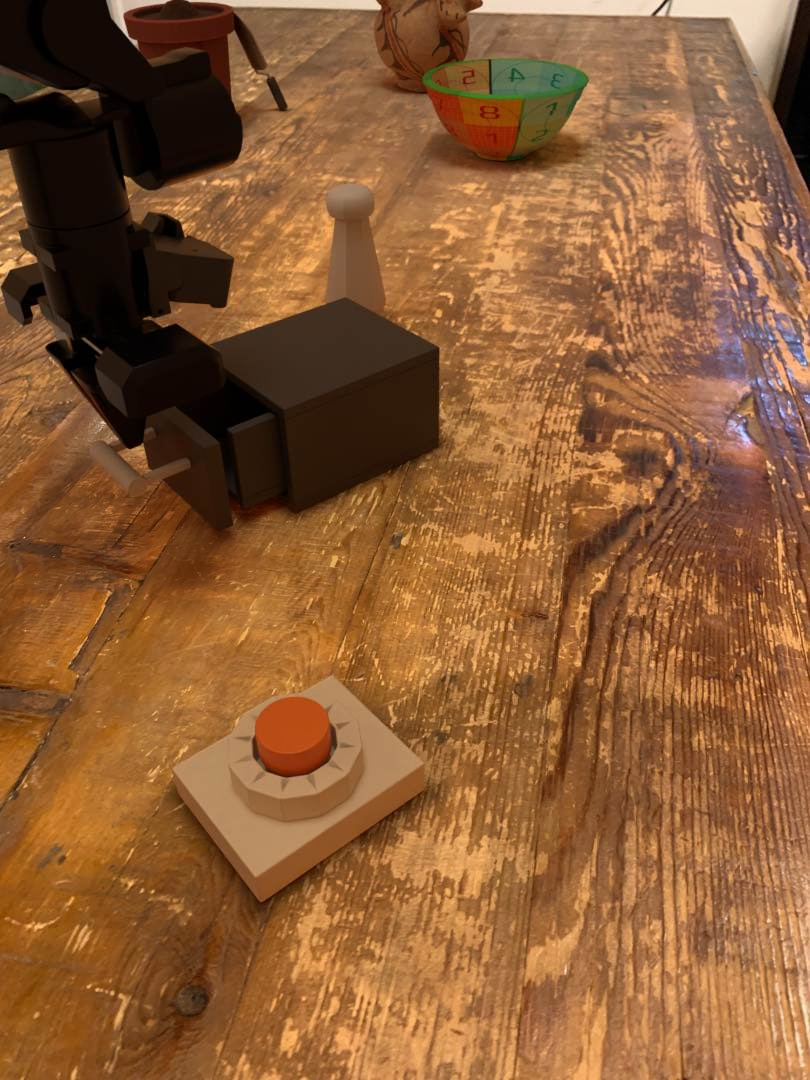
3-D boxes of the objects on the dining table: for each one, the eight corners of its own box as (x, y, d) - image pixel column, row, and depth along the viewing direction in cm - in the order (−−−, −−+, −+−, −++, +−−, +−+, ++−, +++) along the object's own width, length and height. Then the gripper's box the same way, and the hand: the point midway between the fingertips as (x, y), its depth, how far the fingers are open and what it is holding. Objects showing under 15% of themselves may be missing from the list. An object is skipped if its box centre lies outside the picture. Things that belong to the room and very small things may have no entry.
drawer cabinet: (295, 513, 68) (283, 409, 62) (213, 446, 75) (196, 348, 69) (439, 446, 74) (439, 347, 69) (351, 390, 81) (345, 296, 76)
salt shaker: (315, 321, 92) (303, 186, 84) (363, 305, 95) (356, 172, 87) (349, 342, 88) (341, 203, 80) (398, 325, 91) (394, 188, 83)
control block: (260, 904, 44) (250, 854, 41) (177, 794, 49) (164, 744, 46) (425, 790, 49) (424, 739, 46) (334, 700, 54) (330, 650, 51)
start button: (284, 789, 45) (281, 766, 44) (244, 743, 47) (240, 720, 46) (346, 750, 46) (344, 727, 45) (304, 708, 49) (301, 684, 48)
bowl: (591, 177, 124) (600, 95, 118) (422, 179, 125) (421, 98, 119) (571, 129, 142) (578, 56, 136) (422, 131, 142) (422, 58, 136)
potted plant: (154, 113, 153) (123, -70, 138) (288, 108, 154) (271, -74, 138) (135, 145, 140) (97, -54, 124) (282, 140, 140) (263, -59, 125)
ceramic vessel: (464, 102, 155) (468, -80, 140) (352, 97, 158) (343, -80, 143) (481, 76, 169) (486, -92, 154) (377, 73, 172) (372, -92, 157)
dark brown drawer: (156, 561, 62) (136, 476, 58) (89, 491, 69) (67, 410, 65) (364, 465, 71) (359, 385, 66) (287, 411, 77) (278, 335, 73)
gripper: (289, 221, 52) (312, 460, 61) (133, 146, 63) (173, 357, 73) (99, 276, 46) (157, 529, 56) (-34, 184, 58) (34, 406, 67)
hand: (133, 445), depth 63 cm, fingers closed
